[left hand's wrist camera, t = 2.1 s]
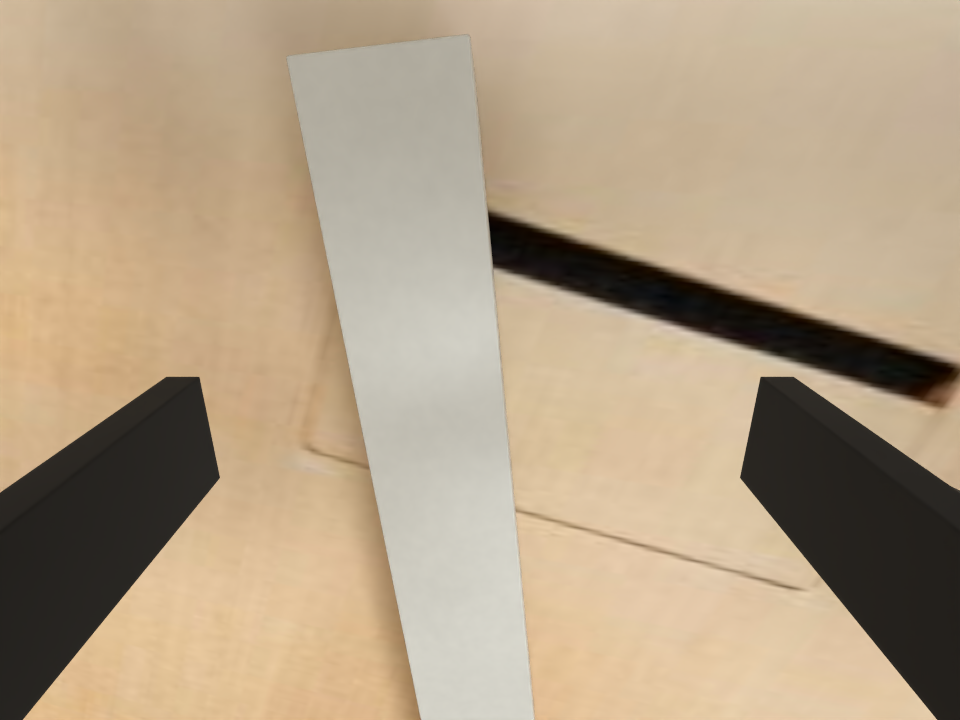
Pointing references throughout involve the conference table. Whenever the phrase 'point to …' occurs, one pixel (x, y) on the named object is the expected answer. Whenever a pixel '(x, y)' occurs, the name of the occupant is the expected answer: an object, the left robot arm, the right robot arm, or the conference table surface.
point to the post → (424, 354)
